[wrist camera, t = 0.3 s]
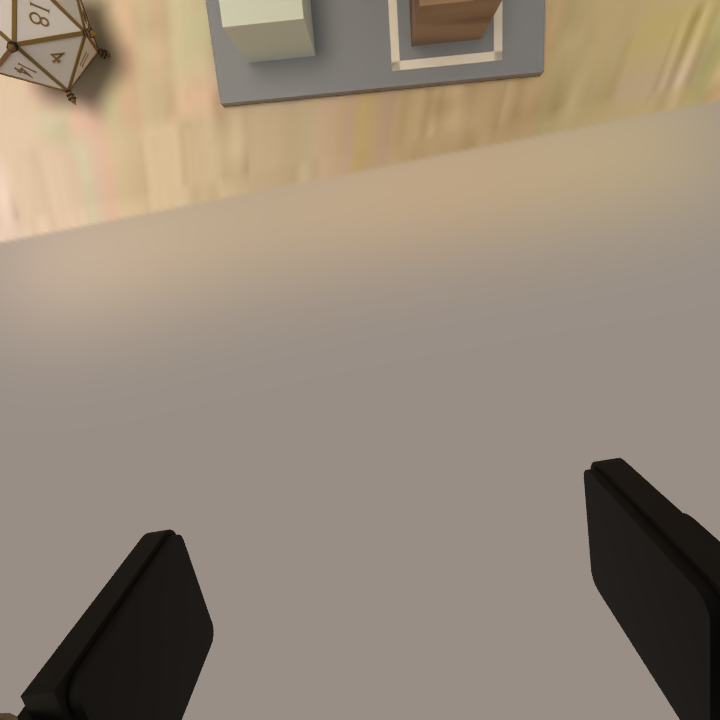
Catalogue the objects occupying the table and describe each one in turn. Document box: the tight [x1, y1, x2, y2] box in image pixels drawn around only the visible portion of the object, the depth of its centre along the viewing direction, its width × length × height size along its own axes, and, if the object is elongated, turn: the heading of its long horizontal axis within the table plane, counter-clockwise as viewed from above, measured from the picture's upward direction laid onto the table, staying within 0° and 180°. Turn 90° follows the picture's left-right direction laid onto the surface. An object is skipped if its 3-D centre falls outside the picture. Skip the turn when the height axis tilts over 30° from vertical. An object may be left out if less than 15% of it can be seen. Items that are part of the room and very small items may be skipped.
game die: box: [0, 0, 110, 105], centre depth 31 cm, size 9×8×10 cm
